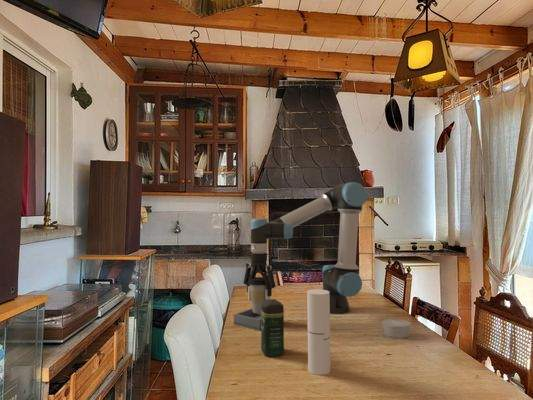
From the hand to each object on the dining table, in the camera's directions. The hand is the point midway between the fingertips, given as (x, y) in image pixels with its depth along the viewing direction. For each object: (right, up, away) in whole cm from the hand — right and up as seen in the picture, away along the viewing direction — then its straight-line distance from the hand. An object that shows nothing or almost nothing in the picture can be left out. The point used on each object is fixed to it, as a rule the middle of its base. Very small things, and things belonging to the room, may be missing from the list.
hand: (259, 301), depth 166 cm
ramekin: (+57, -9, -16) cm, 60 cm away
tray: (-1, -10, +1) cm, 10 cm away
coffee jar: (+6, -9, -33) cm, 35 cm away
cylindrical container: (+20, -9, -49) cm, 54 cm away
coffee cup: (0, -5, 0) cm, 5 cm away
